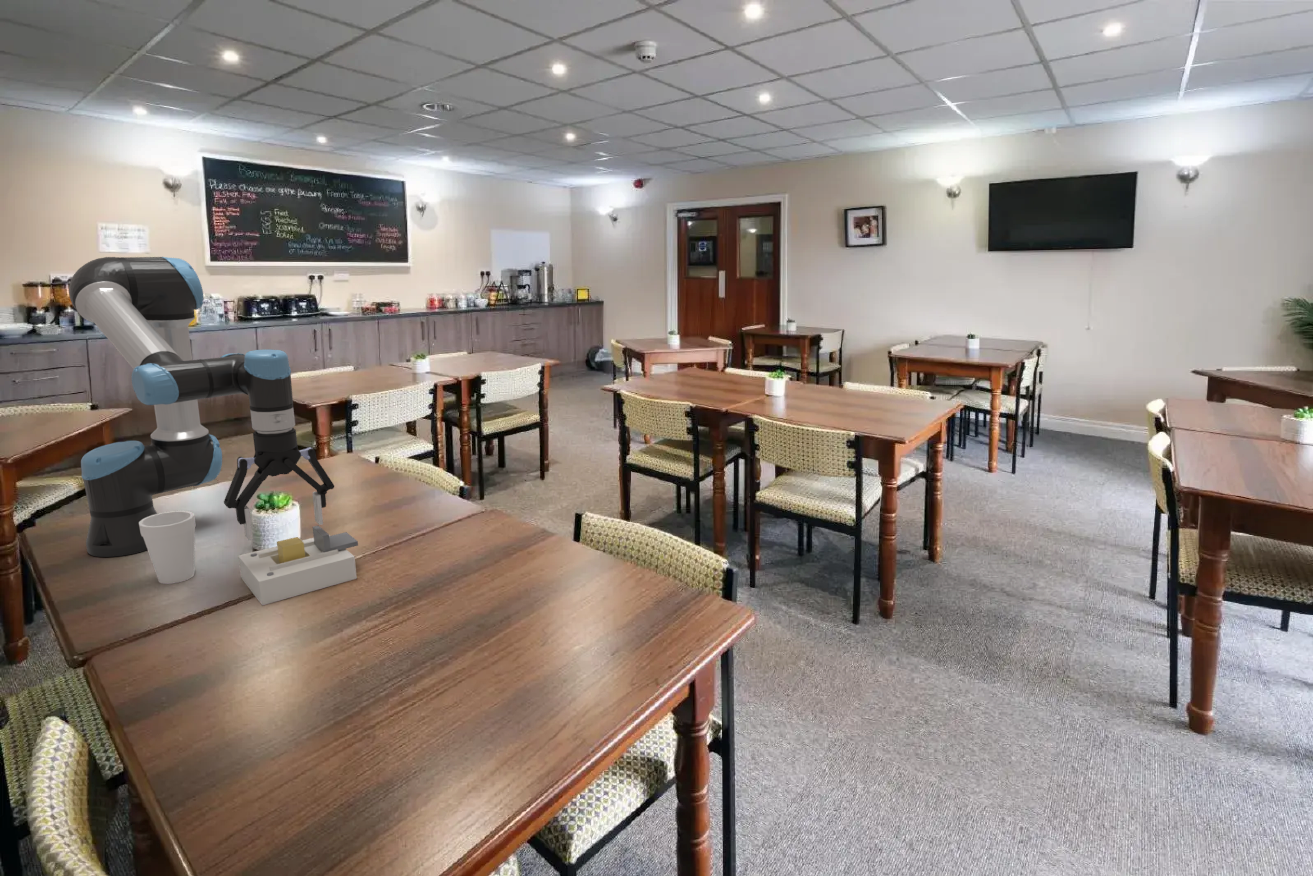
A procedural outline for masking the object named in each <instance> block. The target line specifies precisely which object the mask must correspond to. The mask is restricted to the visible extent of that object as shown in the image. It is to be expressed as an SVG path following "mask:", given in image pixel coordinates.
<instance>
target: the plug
mask: <svg viewBox="0 0 1313 876" xmlns="http://www.w3.org/2000/svg"><path fill="white" fill-rule="evenodd" d="M276 546H277V548H278V555H279V563H284V562H288V561H292V560H296V559H300V558H304V557H305V550H304V542H302V539H301V538H299V536H295V537H292V538H291V537H290V538H287V539H283V540H278V541H276Z"/></svg>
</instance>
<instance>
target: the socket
mask: <svg viewBox="0 0 1313 876" xmlns="http://www.w3.org/2000/svg"><path fill="white" fill-rule="evenodd" d="M329 536H331V534H329ZM301 541H302V542H304V550H305V557H304V558H300V559H296V560H292V561H288V562H284V563H279V555H278V548H277V545H276V546H272V547H269V548H264V549H259V550H256V551H251V552H247V553H243V554H240V555H237V559H238V566H239V573H240V578H241V579H242V580H243V583H244V584H245V585H246V586H247V587H248V589H249V590H250V592H251V593H252V594H253V596H255V598H256V599H257V600H258V602H259V603H260V605H261V606H265V605H269V604H273V603H276V602H279V601H282V600H287V599H289V598H293V597H297V596H300V595H304V594H307V593H311V592H314V591H317V590H321V589H325V588H328V587H332V586H336V585H339V584H342V583H347V582H350V581H353V580H357V569H356V568H357V567H356V557H355V556H354V555H353V554H352V553H351V552H350V551H349V550H348V549H347V548H346V549H342V550H339V551H338V550H337V549H336V550H332V551H328V552H322V551H321V550H320V549H319V548H318V547H317V546H316V545H315V544H314V537H309V538H305V539H303V540H302V539H301Z"/></svg>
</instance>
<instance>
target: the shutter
mask: <svg viewBox="0 0 1313 876" xmlns="http://www.w3.org/2000/svg"><path fill="white" fill-rule="evenodd" d="M311 528H312V535H313V538H314V544H315V545H316V546H317V547H318V548H319V549H320V550H321V551H322V552H328V551H332V550H336V549H337V550H338V551H339V550H342V549H346V550H347V549H349V548H350V549H351V548H354V547H358V546H359V543H358V540H357V539H356V538H354V537H353V536H352V535H350V533H348V532H347V531H345V532H340V533H336V534H332V535H330V534H329V533H328V532H327V531H325V530H324V529H323V528H322V527H321V525H314V526H312V527H311ZM329 535H330V536H329Z"/></svg>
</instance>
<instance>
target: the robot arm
mask: <svg viewBox="0 0 1313 876" xmlns="http://www.w3.org/2000/svg"><path fill="white" fill-rule="evenodd" d="M68 295H69V299H70V302H71V304H72V306H73V308H74V309H75V311H76V312H77V313H78V314H79V315H80V316H81V318H82V319H84V320H86V321H87V322H91V323H94V324H95V325H96V327H97V328H98V329H99V331H101V332H102V334H103V335H104V336H105V337H106V339H108V341H109V342H110V343H111V344H112V345H113V346H114V348H115V349H116V350H117V351H118V353H119V355H121V356H122V357H123V359H124V360H125V361H126V362H127V363H128V365H129V366H130V367H131V368H132V369H133V370H132V373H131V383H132V384H131V385H132V390H133V391H134V393H135V395H136V398H137V400H138V401H139V402H141V403H142V404H144V405H145V406H154V414H155V421H156V429H154V431H153V432H151V434H150V442H151V443H150V444H147V445H144V444H143V442H142V441H139V440H126V441H117V442H113V443H108V444H105V445H101V446H98V447H95V448H94V449H92V450H89V451H88V452H87V453H85V454H84V455H83V456H82V458H81V460H80V468H81V479H82V480H83V484H84V489H85V490H84V491H85V494H86V501H87V505H88V509H89V514H90V521H89V527H88V531H87V536H86V540H85V545H86V546H85V547H86V551H87V553H88V554H89V555H91V556H93V557H99V558H113V557H122V556H127V555H133V554H137V553H142V552H145V551H148V549H147V547H146V544H145V541H144V538H143V537H142V536H141V533H140V527H139V522H140V521H141V520H142V519H144V518H146V517H149V516H151V515H155V514H158V512H157V511H156V509H155V506H154V500H153V496H154V495H158V494H163V493H167V492H172V491H176V490H181V489H186V488H189V487H199V486H201V485H202V484H203V485H204V484H205V483H206V484H207V483H209V482H212V481H214V480H216V479H217V477H218V476H219V475H220V473H221V471H222V466H223V450H222V447H220V444H221V443H220V442H219V440H218V439H217V437H216V436H215V435H213V434H210V433H209V431H210V430H209V429H208V428H206V427H205V426H204V425H202V424H201V418H200V410H199V403H198V402H199V401H198V400H202V399H211V398H218V397H227V396H232V395H233V396H234V395H240V394H242V395H243V394H244V395H247V396H248V400H249V401H248V403H249V409H250V410H249V411H250V418H251V419H250V421H251V428H252V429H253V430H254V432H253V433H252V437H253V446H254V455H253V456H252V457H243V456H239V457H237V459H236V467H237V468H236V470H235V473H234V475H233V478H232V480H231V483H230V485H229V488H228V490H227V493H226V494H225V498H224V500H223V504H224V505H225V506H226V508H228V509H235V511H236V512H235V513H236V520H237V523H238V524H239V525H243V529H244V536H245V538H246V539H247V541H252V540H254V538H253V537H254V536H253V530H252V529H253V527H252V520H251V511H250V507H248V506H247V504H248V503H249V502H250V500H251V499H252V498H253V496H254V495H255V493H256V492H257V490H258V489H259V488H260V487H261V485H262V484H263V482H264V481H266V479H267V478H268V476H270V477H277V476H279V475H289V474H290V473H291V472H292V471H293V473H295V474H297V475H298V476H299V477H300V478H301V479H302V480H304V481H305V482H306V483H307V484H309V485H310V486H311V487H312V488H313V489H314V490H316V491H312V501H313V502H312V503H313V512H314V522H315V523H316V524H317V525H318V526H321V525H324V519H323V509H324V508H326V507H327V500H326V499H327V498H326V497H327V496H326V495H327V493H328V491H329V490H333V489H335V485H334V483H333V481H332V479H331V478H330V476H328V475H329V474H327V472H326V471H325V469H324V467H323V466H322V464H321V463H320V461H319V460H318V458H317V453H316V450H315V449H314V448H313V447H311V446H307V447H305V448H303V449H300V450H299V448H298V437H297V429H296V428H294V427H295V426H296V417H295V412H294V411H295V410H294V398H293V387H292V385H293V384H292V374H291V373H292V369H291V367H290V362H289V361H290V360H289V356H288V353H286V352H285V351H283V350H280V349H269V348H268V349H254V350H250V351H247V352H246V353H245V354H244V353H226V354H223V355H221V356H220V357H213V358H204V359H203V358H202V359H201V358H200V359H193V354H192V346H191V337H190V329H189V325H190V324H191V322H193V321H194V320H195V318H196V315H195V310H198V309H201V308H202V307H203V305H204V300H205V299H204V291H203V286H202V283H201V280H200V278H199V275H198V274H197V272H196V271H195V269H194V268H193V266H192V265H191V264H190V263H189V262H187V261H186V260H184V259H182V258H177V257H165V256H143V257H142V256H137V257H136V256H131V257H130V256H128V257H125V256H124V257H121V256H120V257H116V256H105V257H100V258H96V259H93V260H90V261H88V262H87V263H84V264H83V265H82V266H81V267H79V268H78V269H77V270H76V271H75V273H73V275H72V277H71V279H70V283H69V286H68ZM301 457H303V458H304V459H305V460H308V462H309V464H310V465H311V467H312V468H313V470H314V472H315V473H316V474H317V476H318V477H319V478H320V480H321V481H322V484H320V483H318V482H317V481H316V480H315V479H314V478H312V476H310V475H309V474H308V473H306V471H304V470H303V469H302V468H301V467H299V466H298V465H297V463H298V462H299V460H300V459H301ZM253 464H254V465H256V466H257V469H256V471H255V472H254V474H253V476H252V478H251V479H250V480H249V482H248V483H247V485H246V486H245V487H244V488H243V490H242V491H241V489H242V486H243V484H244V482H245V479H246V476H247V473H248V470H250V469H251V467H252V465H253ZM240 491H241V493H240ZM239 493H240V494H239Z"/></svg>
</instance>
